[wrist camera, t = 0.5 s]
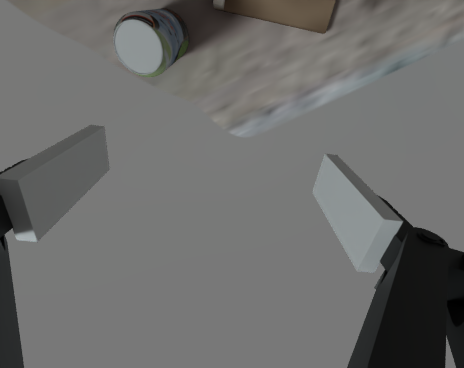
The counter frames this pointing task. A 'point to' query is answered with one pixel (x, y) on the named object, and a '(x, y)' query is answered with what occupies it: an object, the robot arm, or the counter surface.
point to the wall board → (283, 11)
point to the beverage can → (150, 41)
